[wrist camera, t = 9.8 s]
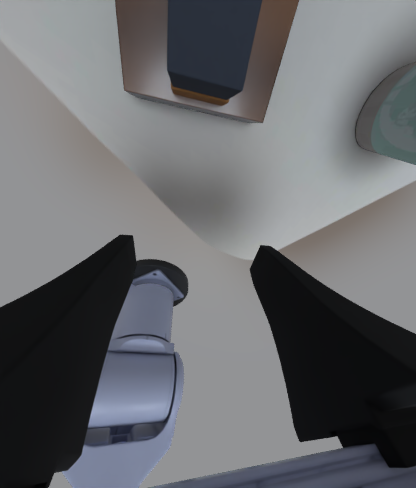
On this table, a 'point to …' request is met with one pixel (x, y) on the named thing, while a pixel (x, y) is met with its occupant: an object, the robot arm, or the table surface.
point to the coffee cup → (391, 117)
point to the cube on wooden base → (210, 47)
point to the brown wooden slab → (155, 57)
